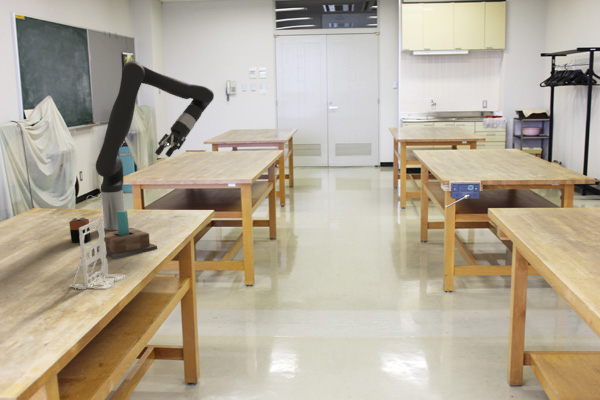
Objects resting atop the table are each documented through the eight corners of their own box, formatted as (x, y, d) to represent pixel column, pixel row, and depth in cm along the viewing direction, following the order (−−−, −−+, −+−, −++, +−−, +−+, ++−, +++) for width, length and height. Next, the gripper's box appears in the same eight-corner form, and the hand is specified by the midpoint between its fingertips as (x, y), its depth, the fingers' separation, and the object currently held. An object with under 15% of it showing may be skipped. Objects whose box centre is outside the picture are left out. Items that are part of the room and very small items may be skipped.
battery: (87, 242, 241) (85, 219, 239) (71, 243, 241) (68, 219, 239) (91, 239, 246) (88, 216, 243) (75, 240, 246) (72, 217, 244)
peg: (118, 246, 230) (114, 211, 227) (127, 244, 233) (124, 209, 230) (122, 248, 227) (119, 213, 224) (132, 246, 230) (128, 211, 227)
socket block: (93, 249, 231) (91, 234, 229) (135, 240, 243) (133, 225, 241) (114, 259, 218) (112, 243, 216) (157, 248, 230) (156, 233, 228)
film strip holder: (107, 290, 185) (101, 229, 181) (67, 288, 188) (60, 228, 184) (128, 275, 199) (123, 218, 195) (91, 274, 202) (85, 217, 197)
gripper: (169, 119, 256) (147, 148, 251) (186, 120, 246) (164, 150, 241) (180, 130, 261) (159, 159, 256) (198, 132, 251) (176, 161, 245)
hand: (162, 154), depth 248 cm, fingers open, 8 cm apart
